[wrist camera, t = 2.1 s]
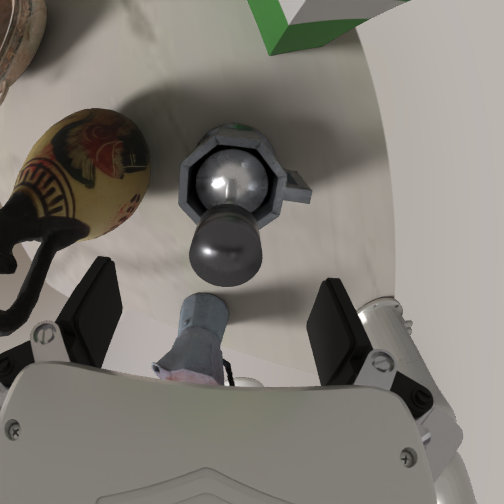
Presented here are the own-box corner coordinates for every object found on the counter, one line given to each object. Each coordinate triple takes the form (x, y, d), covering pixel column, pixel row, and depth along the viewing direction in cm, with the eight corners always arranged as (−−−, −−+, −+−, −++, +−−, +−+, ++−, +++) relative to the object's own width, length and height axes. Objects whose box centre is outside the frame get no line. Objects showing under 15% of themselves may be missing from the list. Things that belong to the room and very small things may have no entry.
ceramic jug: (60, 138, 31) (-98, 225, 5) (141, 87, 29) (-58, 100, 3) (103, 228, 39) (0, 379, 14) (185, 194, 37) (100, 384, 12)
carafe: (298, 133, 33) (325, 146, 23) (284, 207, 39) (300, 248, 29) (197, 120, 32) (177, 127, 22) (191, 196, 38) (172, 235, 27)
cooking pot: (-7, 25, 14) (-47, 25, 4) (64, -32, 13) (26, -50, 3) (1, 126, 27) (-45, 143, 17) (72, 74, 26) (20, 74, 15)
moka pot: (185, 272, 44) (161, 374, 27) (255, 315, 50) (263, 412, 33) (159, 305, 48) (132, 398, 31) (225, 341, 53) (222, 430, 36)
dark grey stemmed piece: (272, 153, 26) (304, 204, 13) (261, 218, 29) (277, 311, 17) (200, 145, 25) (160, 188, 13) (195, 211, 29) (163, 300, 16)
